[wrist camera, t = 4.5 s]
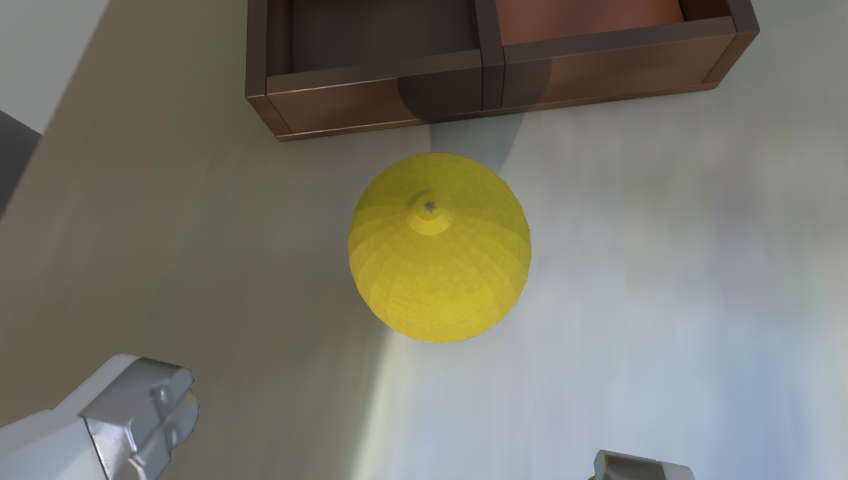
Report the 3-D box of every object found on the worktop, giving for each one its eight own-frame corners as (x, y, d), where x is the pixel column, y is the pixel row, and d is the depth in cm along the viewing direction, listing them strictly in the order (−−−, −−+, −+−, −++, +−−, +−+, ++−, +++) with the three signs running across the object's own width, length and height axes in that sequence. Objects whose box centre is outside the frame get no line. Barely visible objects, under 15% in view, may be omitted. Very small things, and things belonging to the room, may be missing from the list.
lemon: (459, 383, 18) (448, 377, 11) (348, 291, 20) (267, 226, 12) (549, 267, 19) (597, 183, 12) (436, 186, 21) (413, 65, 13)
